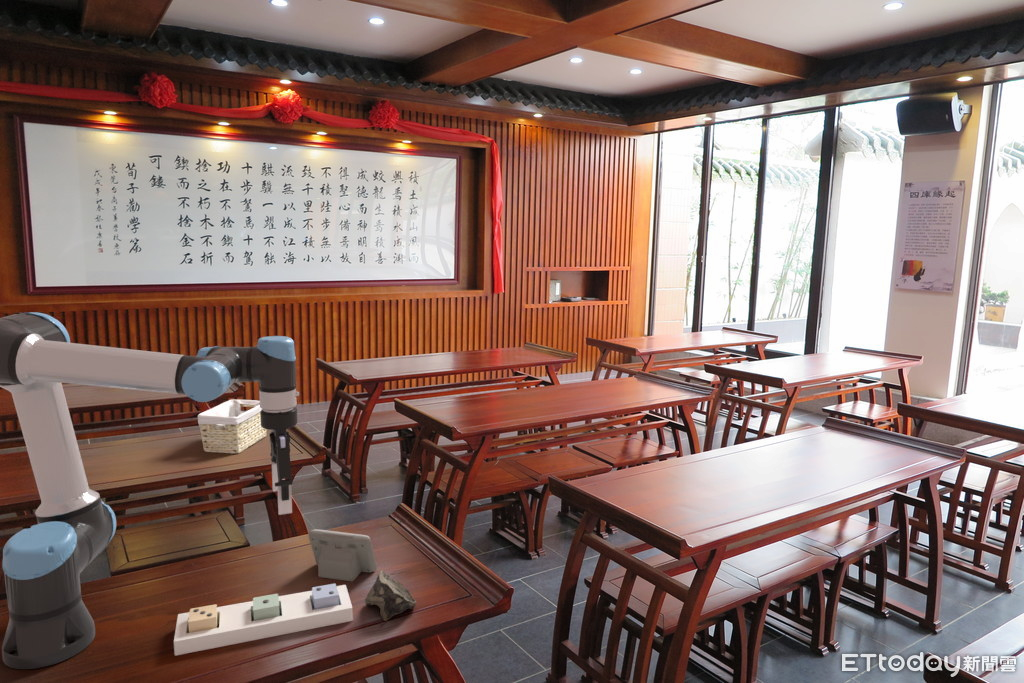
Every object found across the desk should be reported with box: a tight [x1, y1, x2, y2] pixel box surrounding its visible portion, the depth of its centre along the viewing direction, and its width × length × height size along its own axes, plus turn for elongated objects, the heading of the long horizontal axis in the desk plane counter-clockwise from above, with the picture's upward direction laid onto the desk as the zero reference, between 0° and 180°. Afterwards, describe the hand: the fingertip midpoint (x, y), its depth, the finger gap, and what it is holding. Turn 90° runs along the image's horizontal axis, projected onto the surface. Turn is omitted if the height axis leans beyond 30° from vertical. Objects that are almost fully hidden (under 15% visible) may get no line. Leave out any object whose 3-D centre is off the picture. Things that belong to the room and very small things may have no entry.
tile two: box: [311, 582, 339, 610], centre depth 145 cm, size 5×5×4 cm
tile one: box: [252, 593, 281, 621], centre depth 140 cm, size 5×5×4 cm
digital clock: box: [308, 528, 378, 582], centre depth 162 cm, size 16×9×11 cm, turn 66°
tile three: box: [188, 603, 218, 633], centre depth 136 cm, size 5×5×4 cm
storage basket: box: [197, 398, 267, 455], centre depth 255 cm, size 24×16×15 cm
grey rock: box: [364, 570, 417, 622], centre depth 147 cm, size 11×9×10 cm
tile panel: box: [173, 584, 354, 656], centre depth 141 cm, size 34×10×3 cm, turn 112°
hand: (282, 501), depth 148 cm, fingers open, 13 cm apart
